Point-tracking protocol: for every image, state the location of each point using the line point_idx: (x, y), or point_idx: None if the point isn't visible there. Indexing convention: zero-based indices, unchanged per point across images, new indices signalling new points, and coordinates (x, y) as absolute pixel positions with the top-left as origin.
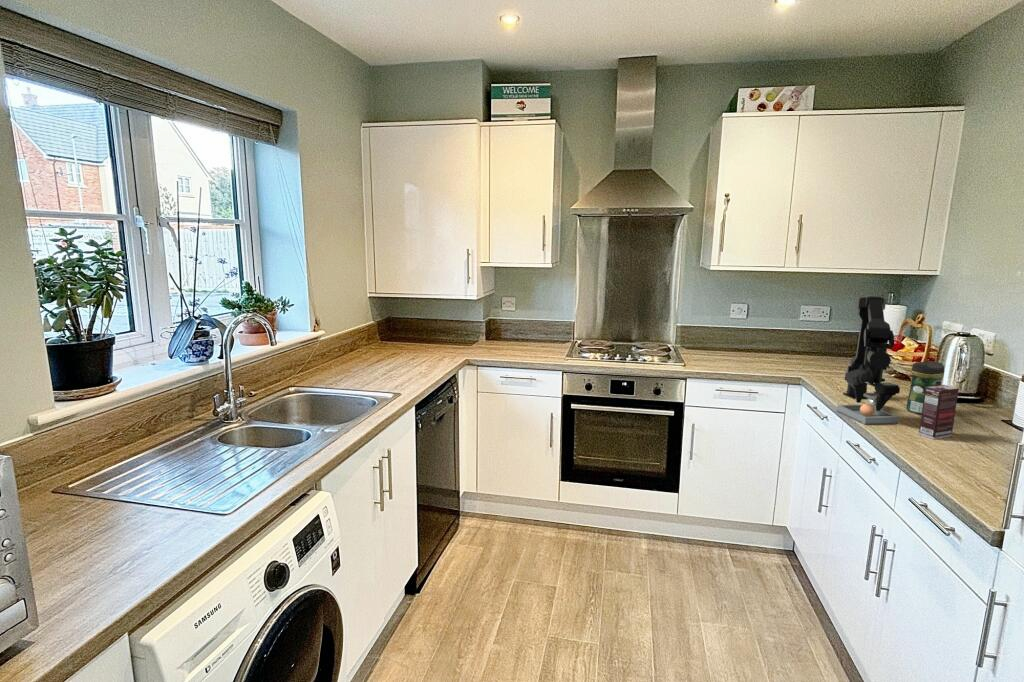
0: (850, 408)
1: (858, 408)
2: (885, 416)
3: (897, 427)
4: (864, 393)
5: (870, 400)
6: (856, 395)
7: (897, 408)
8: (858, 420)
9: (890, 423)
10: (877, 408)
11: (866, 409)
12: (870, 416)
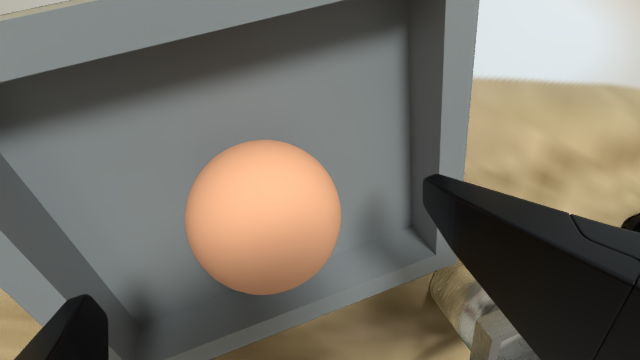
0: (422, 94)
1: (421, 170)
2: None
3: (8, 323)
4: None
5: None
6: (501, 214)
7: (452, 352)
8: (8, 13)
9: None
10: (38, 332)
11: (198, 202)
12: None
